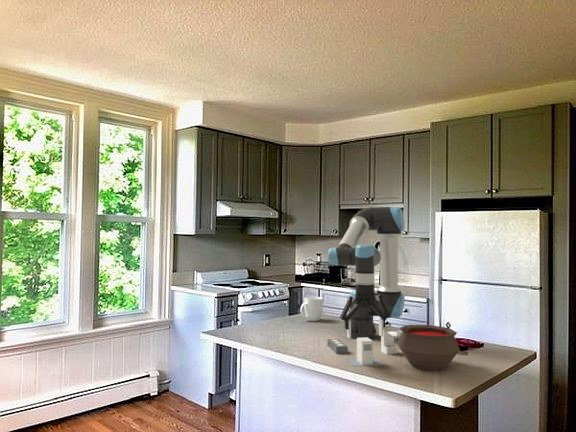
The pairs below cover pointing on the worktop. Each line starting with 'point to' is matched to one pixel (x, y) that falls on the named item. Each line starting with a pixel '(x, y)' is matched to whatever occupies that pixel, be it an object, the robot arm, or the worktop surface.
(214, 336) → the worktop surface
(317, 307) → the mug
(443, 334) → the brown pot
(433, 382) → the worktop surface
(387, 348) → the white angled block
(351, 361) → the mat
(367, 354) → the block
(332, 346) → the power strip
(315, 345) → the worktop surface
